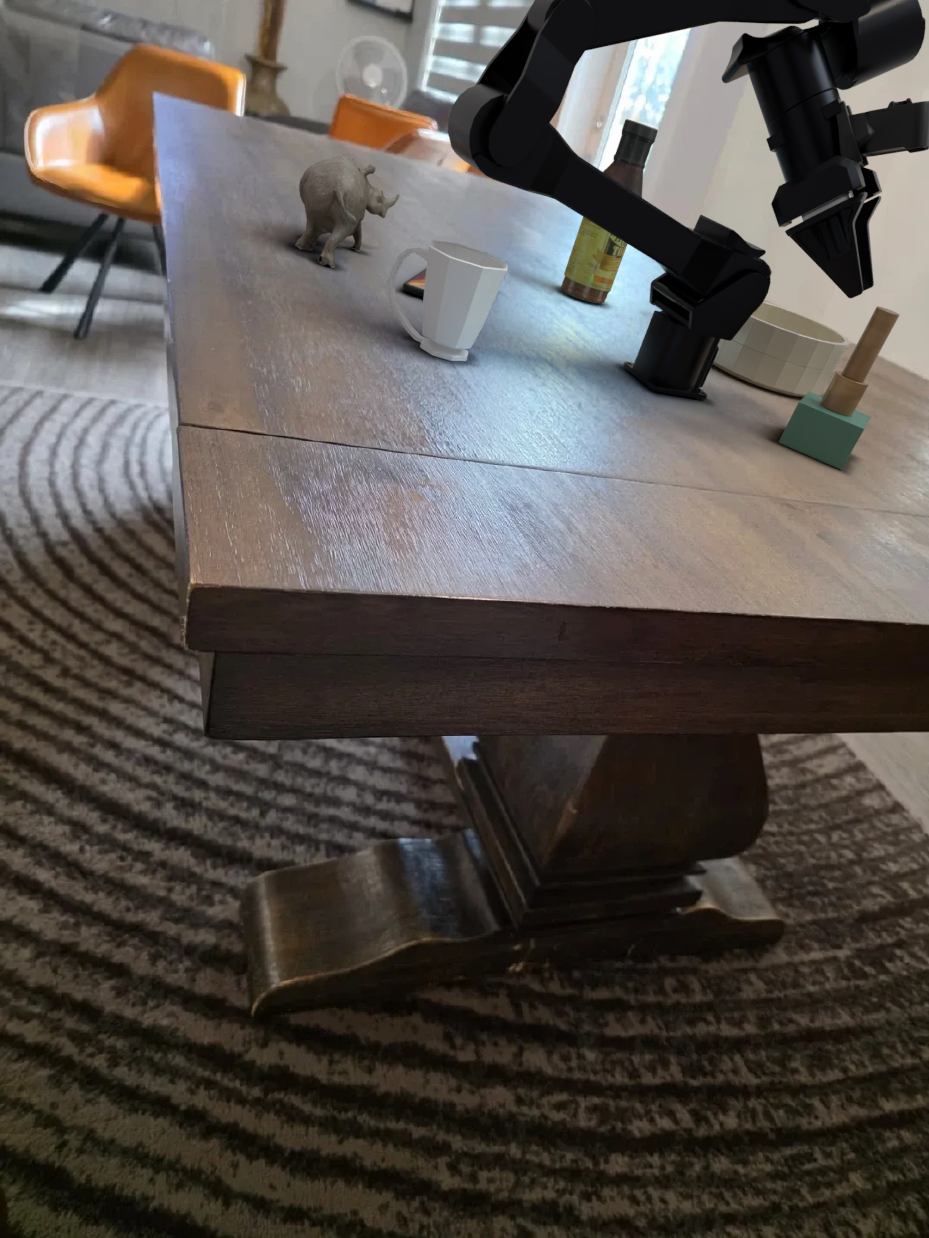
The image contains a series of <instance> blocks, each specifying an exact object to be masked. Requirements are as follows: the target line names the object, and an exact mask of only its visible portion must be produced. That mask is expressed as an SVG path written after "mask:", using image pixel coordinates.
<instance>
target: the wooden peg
mask: <svg viewBox="0 0 929 1238" xmlns="http://www.w3.org/2000/svg"><path fill="white" fill-rule="evenodd" d="M899 318H900V313H898V312H896V311H894V310H892V309H889V308H886V307H883V306H880V305H879V306H876V307H875V309H874V310H873V312H872V315H871V316H870V319H869V320H868V322H867V324H866V326H865V328H864V330H863V332H862V334H861V336H860V337H859V339H858V341H857V343H856V345H855V347H854V349H853V351H852V353H851V355H850V356H849V359H848V361H847V362H846V364H845V366H844V368H843V370H836V371H835V373H834V375H833V377H832V379H831V381H830V383H829V385H828V387H827V389H826V391H825V393H823V396H822V397H823V398H822V400H821V402H820V404H821V405H822V406H823V407H825V408H826V409H828V410H830V411H832V412H835V413H838V414H841V415H844V416H852V414H853V413H854V411H855V410H856V409H857V408H858V405H859V404H860V402H861V401H862V400H861V399H862V398H863V396H864V394H865V392H866V391H867V388H868V387H869V385H870V384H869V382H868V381H866V379H867V377H868V375H869V372H870V371H871V369H872V367H873V366H874V363H875V362H876V361H877V360H876V359H877V358H878V357H879V354H880V353H881V350H882V349H883V347H884V345H885V343H886V342H887V339H889V335H890V333H891V332H892V330H893V328H894V327H895V325H896V323H897V321H898V319H899Z"/></svg>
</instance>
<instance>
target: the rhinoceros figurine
mask: <svg viewBox="0 0 929 1238" xmlns="http://www.w3.org/2000/svg"><path fill="white" fill-rule="evenodd" d="M375 172H376V165H374V164H368V166H366V167H364V168H360V167H358V165H357V159H356V158H351V157H350V156H348V155H347V154H342V155H335V156H331V157H328V158H326V159H323V160H320V161H318V162H315V163H313V164H312V165H310V166H309V167H308V168H307V169H306V170H305V171H304V173H303V174H302V176H301V177H300V180H299V185H298V190H299V196H300V200H301V202H302V204H303V205H304V210H305V216H306V224H305V231H304V233H303V234H302V235H301V236H300V237H299V238H297V241H296V243H295V244H294V246H295V247H296V248H298V249H299V250H303V251H304V250H305V251H310V252H315V250H314V248H313V247H314V246H315V245H316V244H317V243H318V241H319V239H320V237H321V236H322V235H326V234H330V235H328V237H327V239H326V242H325V244H324V247H323V250H322V252H321V254H320V256H319V257H318V260H317V263H318V264H319V265H321V266H326V265H328V266H329V267H330V268H333V269H334V268H335V269H336V265H335V251H336V248H337V247H338V246H339V244H340V243H342V242H343V241H344V240H346V238H349V237H353V240H354V243H353V245H352V246H349V247H348V248H349V249H354V251H356V252H357V253H361V250H360V249H361V247H362V239H363V233H362V232H363V229H362V221H364V219H365V216H366V211H367V212H368V213H369V214H371V215H375V216H379V217H380V218H382V219H385V218H386V215H387V213H388V210H389V209H391V208H393V206H395V204H396V203H397V202H398V200H399V198H400V193H398V194H396V195H395V196H393V197H391V198H390V197H389V198H387V197H385V195H384V191H383V189H382V188H380V187H375V186H373V185H372V184H371V183H370V180H369V177H368V176H369V175H373V174H375Z"/></svg>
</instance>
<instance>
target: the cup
mask: <svg viewBox="0 0 929 1238" xmlns="http://www.w3.org/2000/svg"><path fill="white" fill-rule="evenodd" d="M413 253H414V254H416V256H418V257H420V258H422V259H423V260H425V262H426V268H425V269H426V279H425V288H424V297H422V298H423V299H422V300H423V301H422V311H421V313H422V314H421V315H422V316H421V319H422V320H421V321H422V323H421V325H422V326H421V327H422V328H421V329H422V330H421V333H422V335H423V336H422V335H420V333H419V332H418V331H417V330H416V329H415V328H414V327H413V326H412V324H411V322H410V321H409V319H408V318H407V316H406V314H405V312H404V311H403V309H402V308H401V306H400V304H399V301H398V299H397V296H396V286H395V284H396V283H395V282H396V279H397V276H398V273H399V270H400V268H401V267H402V264H403V262H404V260H406V259H407V258H408V257H409V256H411V255H412V254H413ZM508 269H509V263H507V262H506V261H504V260H502V259H500V258H498V257H496V256H494V255H492V254H491V253H488V252H486V251H483V250H480V249H476V248H473V247H470V246H467V245H464V244H461V243H458V242H449V241H443V240H442V241H441V240H435V239H433V240H431V242H430V243H429V245H428V248H427V249H425V248H420V247H411V248H406V249H405V250H404V251H403V252H402V253H400V254H399V255H398V256H397V257H396V259H395V261H394V263H393V265H392V266H391V269H390V271H389V275H388V278H387V281H386V285H387V290H386V291H387V298H388V301H389V303H390V306H391V308H392V310H393V313H394V314H395V316H396V317H397V319H398V320H399V322H400V324H401V325H402V326H403V329H404V330H405V331H406V332H407V334H409V336H411V338H412V339H413V340H414V341H416V342H419V343H420V345H419V348H420V349H422V350H423V351H425V352H426V353H428V354H429V355H431V356H434V357H437V358H439V359H444V360H446V361H450V362H467V360H468V356H469V351H468V350H470V349H471V348H472V347H473V345H474V343H475V341H476V340H477V338H478V336H479V334H480V333H481V331H482V329H483V327H484V325H485V323H486V321H487V318H488V316H489V313H490V311H491V308H492V306H493V304H494V301H495V300H496V298H497V295H498V293H499V291H500V288H501V287H502V284H503V282H504V279H505V277H506V275H507V272H508Z"/></svg>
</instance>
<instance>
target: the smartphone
mask: <svg viewBox="0 0 929 1238" xmlns="http://www.w3.org/2000/svg"><path fill="white" fill-rule="evenodd" d="M425 279H426V268H424V269H423V270H421V271H420V272H419V273H417V274H415V275H414V276H412V277H411V278H409V279H408V280H406V281H405V282H404V283H403V285H402V288H403V290H404V291H405V292H407V293H410V294H413V295H417V296H420V297H422V298H423V297H424V288H425Z"/></svg>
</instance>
